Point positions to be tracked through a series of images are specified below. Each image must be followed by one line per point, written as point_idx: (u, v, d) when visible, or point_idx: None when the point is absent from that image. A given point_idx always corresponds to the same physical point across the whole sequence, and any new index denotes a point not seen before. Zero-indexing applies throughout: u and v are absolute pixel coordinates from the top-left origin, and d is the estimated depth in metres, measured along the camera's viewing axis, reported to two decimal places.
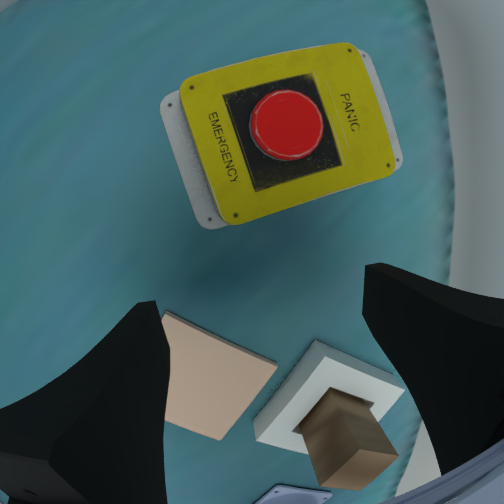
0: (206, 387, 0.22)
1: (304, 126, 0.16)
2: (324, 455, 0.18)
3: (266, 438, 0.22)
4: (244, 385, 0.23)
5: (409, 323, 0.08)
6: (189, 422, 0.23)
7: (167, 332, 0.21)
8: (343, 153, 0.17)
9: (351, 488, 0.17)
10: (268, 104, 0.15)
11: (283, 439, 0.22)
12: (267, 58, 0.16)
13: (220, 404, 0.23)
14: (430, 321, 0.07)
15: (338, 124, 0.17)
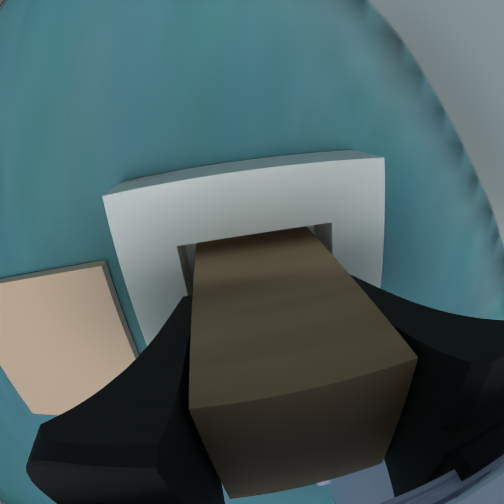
0: (63, 352, 0.13)
1: None
2: None
3: None
4: (93, 322, 0.13)
5: None
6: None
7: None
8: None
9: (343, 474, 0.06)
10: None
11: None
12: None
13: (101, 366, 0.14)
14: None
15: None
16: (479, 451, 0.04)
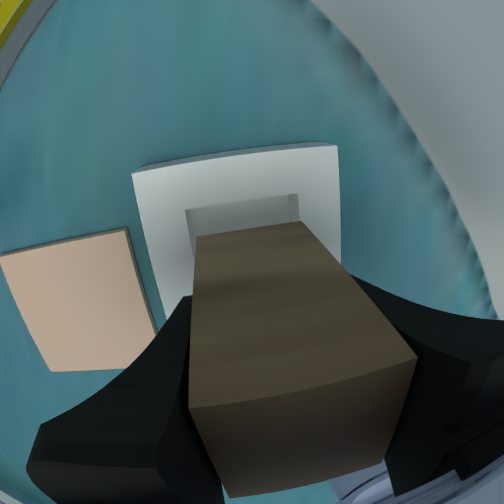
0: (86, 307, 0.17)
1: None
2: None
3: None
4: (114, 279, 0.16)
5: None
6: (115, 359, 0.19)
7: (12, 273, 0.15)
8: None
9: (342, 474, 0.06)
10: None
11: None
12: None
13: (117, 319, 0.17)
14: None
15: None
16: (479, 451, 0.04)
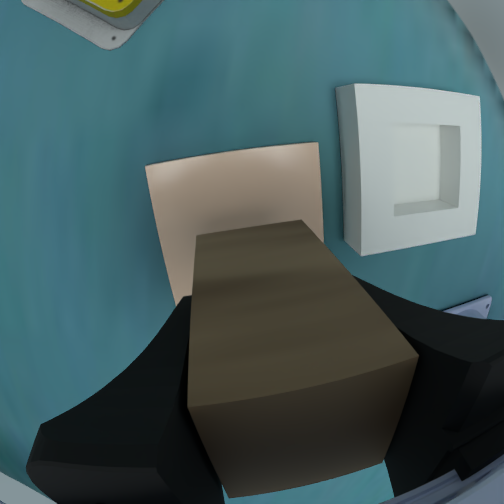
0: (256, 225, 0.17)
1: None
2: None
3: (371, 245, 0.17)
4: (297, 192, 0.17)
5: None
6: None
7: (162, 185, 0.16)
8: None
9: (343, 474, 0.06)
10: None
11: (392, 235, 0.17)
12: None
13: None
14: None
15: None
16: (479, 451, 0.04)
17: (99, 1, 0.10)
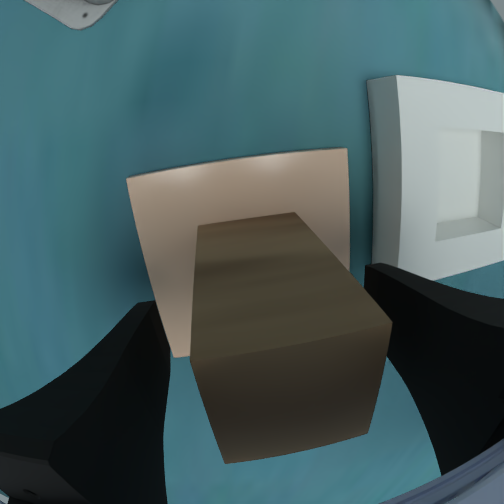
0: None
1: None
2: None
3: None
4: (320, 211, 0.13)
5: (409, 323, 0.08)
6: None
7: (149, 203, 0.12)
8: None
9: (331, 442, 0.07)
10: None
11: (432, 263, 0.13)
12: None
13: None
14: (430, 321, 0.07)
15: None
16: None
17: None
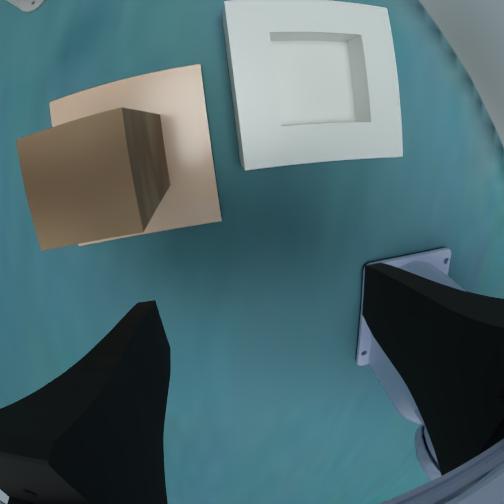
0: None
1: None
2: None
3: (256, 157, 0.15)
4: (181, 112, 0.16)
5: (409, 324, 0.08)
6: (163, 216, 0.18)
7: (62, 117, 0.15)
8: None
9: (111, 234, 0.10)
10: None
11: (282, 147, 0.15)
12: None
13: (176, 160, 0.17)
14: (430, 321, 0.07)
15: None
16: None
17: None
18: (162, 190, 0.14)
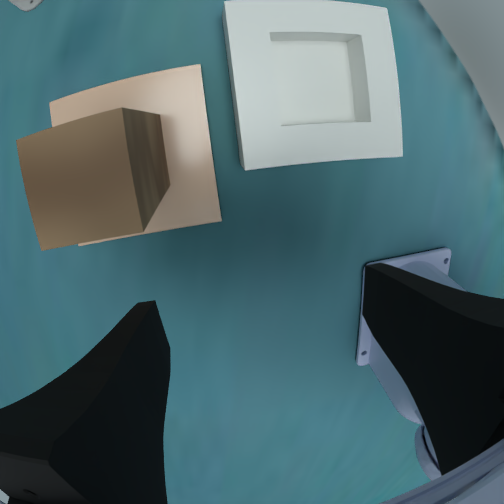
0: None
1: None
2: None
3: (256, 157, 0.15)
4: (181, 112, 0.16)
5: (409, 324, 0.08)
6: (163, 216, 0.18)
7: (62, 117, 0.15)
8: None
9: (111, 234, 0.10)
10: None
11: (282, 147, 0.15)
12: None
13: (176, 160, 0.17)
14: (430, 321, 0.07)
15: None
16: None
17: None
18: (162, 190, 0.14)
